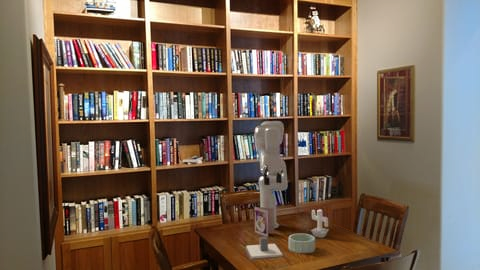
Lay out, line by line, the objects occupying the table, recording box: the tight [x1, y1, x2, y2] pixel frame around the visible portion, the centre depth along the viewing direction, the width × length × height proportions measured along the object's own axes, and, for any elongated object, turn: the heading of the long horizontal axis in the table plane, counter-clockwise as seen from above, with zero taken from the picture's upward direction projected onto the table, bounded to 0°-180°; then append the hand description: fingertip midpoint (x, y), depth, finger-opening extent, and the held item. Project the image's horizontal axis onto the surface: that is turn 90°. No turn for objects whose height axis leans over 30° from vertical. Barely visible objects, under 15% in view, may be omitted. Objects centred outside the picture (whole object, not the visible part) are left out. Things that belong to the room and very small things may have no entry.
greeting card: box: [254, 206, 275, 238], centre depth 218 cm, size 11×7×15 cm, turn 37°
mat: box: [244, 244, 285, 261], centre depth 189 cm, size 17×17×1 cm
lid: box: [245, 236, 283, 260], centre depth 189 cm, size 15×15×7 cm
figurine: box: [310, 208, 329, 239], centre depth 211 cm, size 7×9×15 cm
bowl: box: [287, 233, 316, 254], centre depth 193 cm, size 13×13×6 cm
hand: (273, 183), depth 199 cm, fingers open, 9 cm apart
